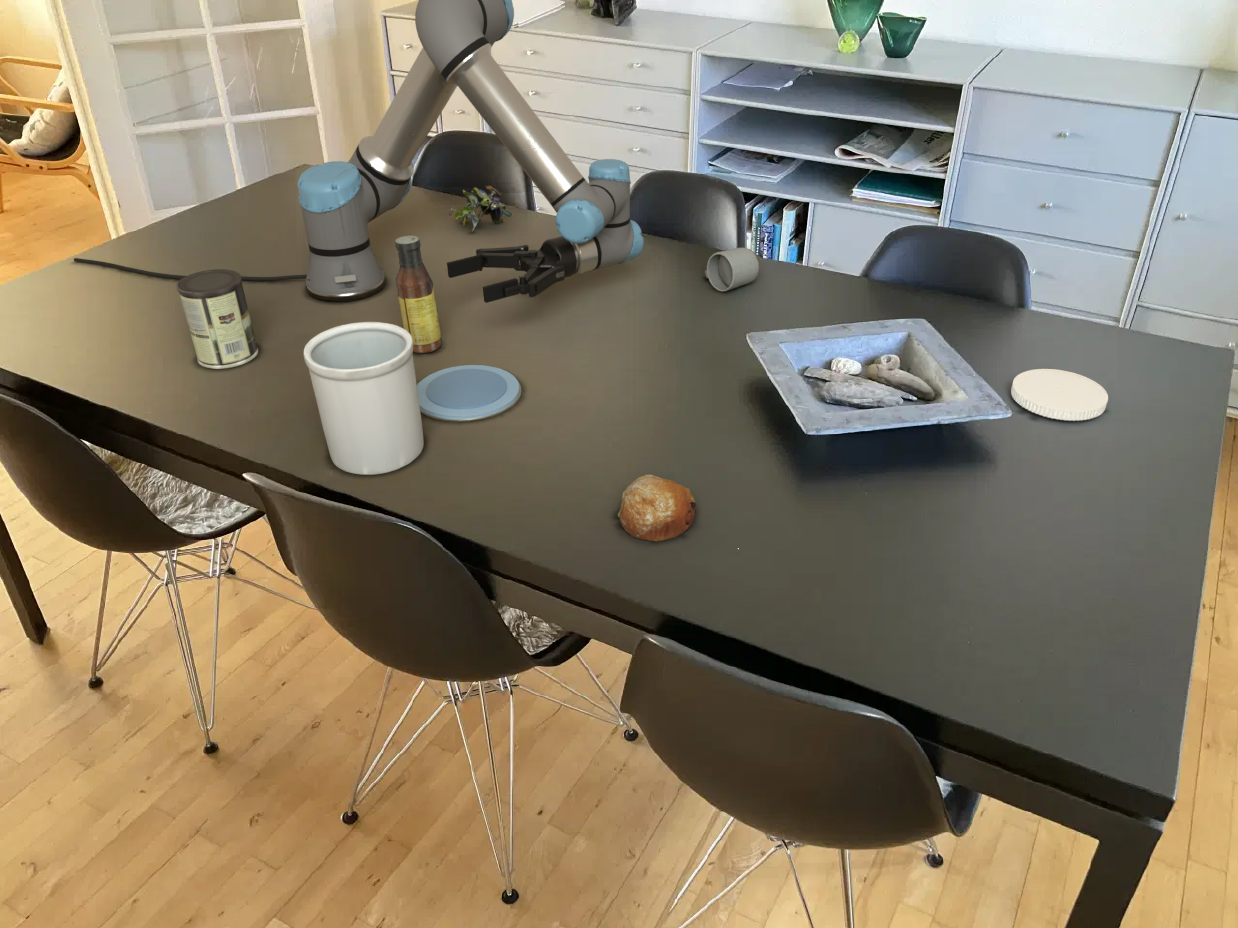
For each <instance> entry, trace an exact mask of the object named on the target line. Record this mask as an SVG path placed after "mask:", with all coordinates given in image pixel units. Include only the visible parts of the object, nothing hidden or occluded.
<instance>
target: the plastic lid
mask: <svg viewBox="0 0 1238 928" xmlns="http://www.w3.org/2000/svg"><path fill="white" fill-rule="evenodd" d="M1010 394H1011V397H1012V398H1013V400H1014V401H1015V402H1016V403H1017V404H1018V405H1019V406H1021V408H1024V409H1025V410H1027V411H1029V412H1031V413H1034V414H1036V415H1039V416H1042V417H1044V418H1045V417H1046V418H1048V419H1055V420H1060V421H1069V422H1071V421H1073V422H1076V421H1077V422H1079V421H1087V420H1091V419H1094V418H1095V419H1096V418H1097V417H1099V416H1101V415H1102V414H1103V413H1104V412H1105V410H1106V408H1107V405H1108V402H1109V394H1108V392H1107V391H1106V389H1105V388H1104V387H1103V386H1102V385H1101V383H1100V384H1099V382H1096V381H1095V380H1093V379H1092V378H1089V377H1086V376H1084V375H1082V374H1078V373H1075V372H1071V371H1067V370H1062V369H1057V368H1056V369H1054V368H1051V369H1050V368H1036V369H1034V368H1033V369H1029V370H1026V371H1023V372H1021V373H1018V374H1017V375H1016V376H1015V377H1014V378H1013V380H1012V383H1011V389H1010Z"/></svg>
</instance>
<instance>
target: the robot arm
mask: <svg viewBox="0 0 1238 928" xmlns="http://www.w3.org/2000/svg"><path fill="white" fill-rule="evenodd" d="M414 13H415V14H414V22H415V23H414V24H415V28H416V33H417V36H418V39H419V41H420V44H421V46H422V48H421V49H420V51H419V53H418V55H417V57H416V58H415V60H414V62H413V63H412V66H411V67H410V69H409V71H408V72H407V74H406V77H405V78H404V80H403V81H402V84H401V85H400V87H399V88H398V90H397V92H396V94H395V95H394V98H393V99H392V101H391V103H390V105H389V107H388V108H387V110H386V112H385V114H384V115H383V117H382V118H381V121H380V123H379V124H378V126H377V128H376V129H375V130H374V133H373V135H368V136H364V137H362V138H361V139H360V141H359V143H358V144H357V146H356V148H355V150H354V151H353V154H352V155H351V156H350V159H349V160H348V161H341V160H336V161H335V160H334V161H327V162H323V163H322V164H316V165H313V166H310V167H308V168H307V169H306V170H304V171H303V172H302V173H301V174H300V176H299V177H298V180H297V190H298V196H297V198H298V202H299V205H300V209H301V215H302V220H303V224H304V225H303V226H304V230H305V235H306V240H307V245H308V250H309V251H308V252H309V257H308V264H307V270H306V271H307V272H306V274H293V275H282V276H280V275H279V276H242V275H241V278H242V281H253V282H274V281H275V282H276V281H287V280H303V279H304V280H305V286H306V292H307V294H308V295H309V296H310V297H311V298H313V299H316V300H318V301H323V302H332V303H336V302H337V303H343V302H352V301H358V300H363V299H366V298H368V297H371V296H374V295H377V293H379V292H380V291H381V290H383V289H384V288H385V286H386V278H385V272H384V270H383V269H382V267H381V265H380V264H379V262H378V259H377V257H376V255H375V254H374V250H373V248H372V246H371V241H370V240H371V239H370V233H369V228H368V224H369V223H371V222H372V221H374V220H376V219H377V218H378V217H380V216H382V215H383V214H385V213H387V212H388V211H391V210H393V209H395V208H396V207H398V206H399V205H401V203H403V201H404V200H405V199H406V197H407V196H408V194H409V192H410V190H411V187H412V177H413V176H414V172H415V167H414V164H413V160H414V158H415V156H416V155H417V153H418V152H419V150H420V148H421V147H422V145H423V143H424V142H425V140H426V139H427V137H428V135H429V134H430V132H431V131H432V129H433V127H434V126H435V124H436V122H437V120H438V119H439V117H440V116H441V114H442V113H443V110H444V109H445V107H446V106H447V104H448V102H449V101H450V99H451V97H452V96H453V94H454V93H455V91H456V89H457V87H458V88H459V90H460V91H461V92H462V93H463V95H464V96H465V97H466V99H467V100H468V101H469V102H470V104H471V106H473V107H474V109H475V110H476V112H478V114H479V115H480V117H481V118H482V120H483V121H485V123H486V124H487V126H488V127H489V128H490V130H492V132H493V134H495V136H496V137H497V138H498V139H499V141H500V142H501V144H502V145H503V146H504V147H505V148H506V150H507V151H508V152H509V153H510V155H511V156H512V157H513V159H514V160H515V161H516V162H517V164H518V165H519V166H520V167H521V169H522V170H523V171H524V173H525V174H526V175H527V176H528V178H529V179H530V180H531V182H532V183H533V184H534V185H535V187H536V188H537V189H538V191H539V192H540V193H541V194H542V195H543V197H544V198H545V199H546V201H547V202H548V203H549V205H550V206H551V207H552V209H553V210H554V211H555V213H556V215H555V226H556V229H557V232H558V233H559V235H560V236H556V237H553V238H548V239H546V240H544V241H543V242H542V243H541V247H540V248H539V249H538V250H536V249H530V247H529V244H522V245H518V246H517V245H516V246H504V247H503V246H502V247H489V248H488V247H487V248H477V249H475V255H473V256H468V257H464V258H460V259H456V260H452V261H448V262H446V269H447V276H448V278H449V279H452V278H456V277H460V276H463V275H464V276H465V275H468V274H472V273H476V272H482V271H483V269H484V268H486V269H487V268H489V269H490V268H492V269H513V270H514V271H516V272H524V274H523V276H522V275H521V276H520V275H519V277H518V278H517V277H515V278H511V279H507V280H503V281H499V282H496V283H492V284H488V285H484V286H482V293H483V296H482V297H483V302H484V303H485V304H488V303H491V302H495V301H498V300H503V299H505V298H510V297H513V296H517V295H519V294H520V295H522V296H524V295H525V296H526V295H528V297H529V298H536V297H537V296H539V295H540V294H541V293H543V292H544V291H546V290H547V289H549V288H550V287H552V286H553V285H555V284H556V283H560V282H563V281H565V279H566V278H569V277H572V276H575V275H580V276H581V275H584V274H585V273H587V272H590V271H595V270H597V269H602V268H606V267H610V266H614V265H619V264H624V263H625V262H629V261H631V260H634V259H635V258H638V257H639V256H640V255H641V254H642V252H643V249H644V244H645V243H644V242H645V241H644V237H643V235H642V232H643V231H642V229H641V227H640V225H639V224H638V223H637V222H636V221H635V220H633V219H631V184H632V181H631V175H630V166H629V165H628V163H627V162H625V161H623V160H621V159H615V158H603V159H598V160H595V161H593V162H591V163H590V165H589V168H588V176H587V179H588V181H587V180H586V178H585V177H584V176H583V175H582V174H581V172H580V171H579V169H578V168H577V166H575V164H574V163H573V162H572V160H571V159H570V158H569V156H568V154H566V152H565V151H564V149H563V148H562V147H561V146H560V144H559V142H558V141H557V140H556V139H555V137H554V136H553V135H552V133H550V131H549V129H548V128H547V127H546V126H545V124H544V123H543V122H542V120H541V119H540V118H539V117H538V115H537V114H536V113H535V111H534V110H533V109H532V107H531V106H530V105H529V104H528V102H527V101H526V100H525V98H524V96H522V94H521V93H520V91H519V90H518V89H517V88H516V86H515V85H514V83H513V82H512V81H511V80H510V78H509V77H508V75H507V74H506V72H505V71H504V70H503V69H502V68H501V66H500V65H499V64H498V63H497V60H495V58H494V57H493V56H492V47H493V46H494V44H495V43H496V42H498V41H501V40H502V39H504V38H505V36H507V35H508V33H509V32H510V30H511V28H512V26H513V23H514V18H515V8H514V4H513V0H418V1H417V4H416V8H415V12H414ZM73 261H74V263H75V262H76V263H80V264H81V263H82V264H90V265H97V266H103V267H108V268H113V269H117V270H120V271H121V270H122V271H127V272H131V273H135V274H140V275H145V276H149V277H157V278H163V279H164V278H165V279H173V280H181V279H182V278H184V277H186V276H187V275H180V274H169V273H161V272H154V271H149V270H143V269H139V268H134V267H129V266H125V265H120V264H116V263H112V262H106V261H100V260H94V259H86V258H80V257H74V258H73Z"/></svg>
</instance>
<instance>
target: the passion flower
mask: <svg viewBox="0 0 1238 928" xmlns="http://www.w3.org/2000/svg"><path fill="white" fill-rule="evenodd" d="M484 187H485V189H486V190H487V191H488V192H489V193H487V192H486V191H484V190H483V189H479V188H477V187H473V188H472V190H471V192H469V191H466V190H465V189H463V190H462V193H463V195H464V196H465V197H466V202H465V205H464V206H461V207H460V208H459V210H457V209H455V207H453V206H451V207H450V209H449V212H448V214H449V216H453V215H452V214H453V212H455V213H454V219H455V221H456V222H457V221H458V220H460V219H461V221H462V225H463V227H464V228H465V227H466V223H467V220H468V219H469V218H471V221H472V222H471V223H472V230H471V231H470V233H471V234H473V232H474V231H475V228H476V227H477V226H478V224H479V223H480V222H481V221H482V220H481V219H482V218H483V217H484V215H485V216H488V215H490V218H491V221H492V222H493V223H494V224H499V223H502V224H503V223H504V219H503V218H502V216H503V215H504V216H506V217H512V215H513V213H512V212H510V211H508V210H507V206H506V204H505V203H504V202H503V203H502V202H501V201H500V200H501V199H502V198H499V197H500V196H502V194H501V192H500V191H499V190H497V189H496V188H494V187H492V186H491V185H485V186H484ZM494 195H495V196H494ZM493 196H494V197H493ZM479 207H480V211H479V213H478V214H477V213H476V212H475V211H476V209H477V208H479ZM481 213H482V214H481ZM472 215H473V216H472Z"/></svg>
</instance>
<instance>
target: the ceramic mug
mask: <svg viewBox="0 0 1238 928" xmlns="http://www.w3.org/2000/svg"><path fill="white" fill-rule="evenodd" d="M759 272H760V261H759V258H758V256H757V255H756V253H755V251H753V250H752V249H751V248H748V247H736V248H731V249H727V250H722V251H717V252H714V253H713V254H712V255H710V257H709V258H708V260H707V265H706V269H705V270H704V274H705V278H706V279H708V281H709V283H710V284H711V286H712V287H713V288H714V289H715V290H717V291H719V292H723V293H724V292H728V291H731V290H734V289H737V288H739V287H741V286H745V285H748V284H750V283H752V282H753V281H754V280H756V278H757V277H758V275H759Z"/></svg>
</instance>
